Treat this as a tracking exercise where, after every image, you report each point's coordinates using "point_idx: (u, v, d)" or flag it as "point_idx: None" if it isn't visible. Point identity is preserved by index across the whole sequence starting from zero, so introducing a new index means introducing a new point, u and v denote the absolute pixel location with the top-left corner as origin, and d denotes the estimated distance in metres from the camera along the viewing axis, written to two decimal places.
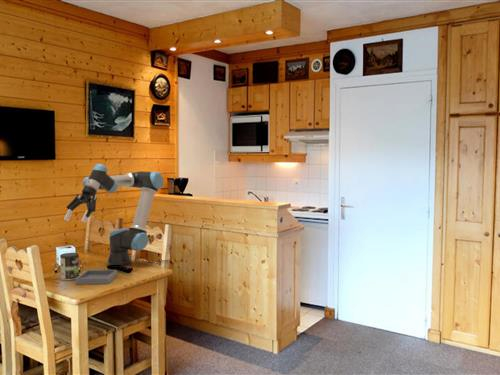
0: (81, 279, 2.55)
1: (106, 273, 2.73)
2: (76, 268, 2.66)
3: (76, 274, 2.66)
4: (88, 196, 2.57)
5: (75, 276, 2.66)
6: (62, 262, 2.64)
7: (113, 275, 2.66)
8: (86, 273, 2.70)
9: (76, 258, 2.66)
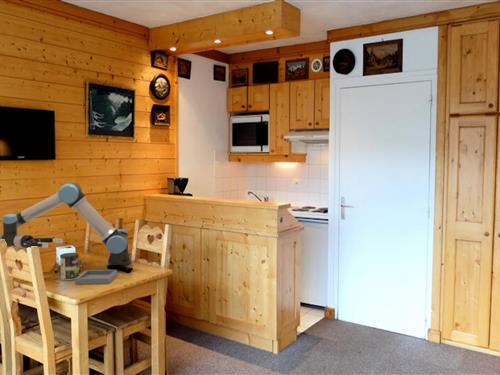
0: (81, 279, 2.55)
1: (106, 273, 2.73)
2: (76, 268, 2.66)
3: (76, 274, 2.66)
4: None
5: (75, 276, 2.66)
6: (62, 262, 2.64)
7: (113, 275, 2.66)
8: (86, 273, 2.70)
9: (76, 258, 2.66)
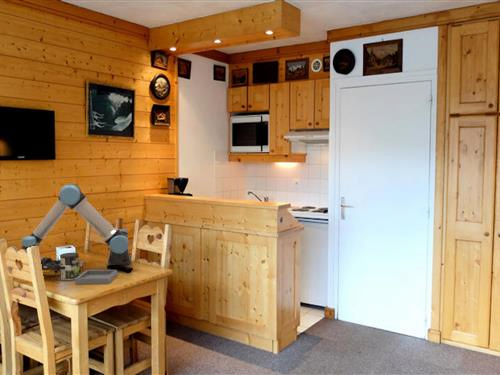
0: (81, 279, 2.55)
1: (106, 273, 2.73)
2: (76, 268, 2.66)
3: (76, 274, 2.66)
4: None
5: (75, 276, 2.66)
6: (62, 262, 2.64)
7: (113, 275, 2.66)
8: (86, 273, 2.70)
9: (76, 258, 2.66)
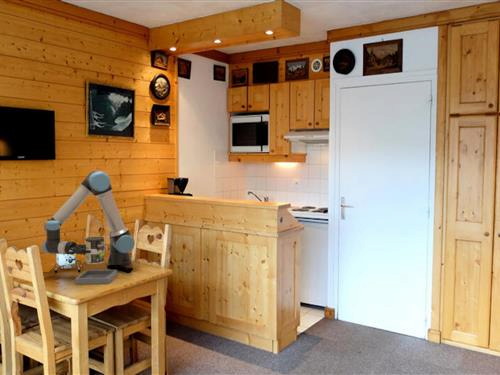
0: (81, 279, 2.55)
1: (106, 273, 2.73)
2: (101, 252, 2.62)
3: (101, 258, 2.62)
4: None
5: (101, 260, 2.61)
6: (87, 246, 2.59)
7: (113, 275, 2.66)
8: (86, 273, 2.70)
9: (101, 242, 2.62)
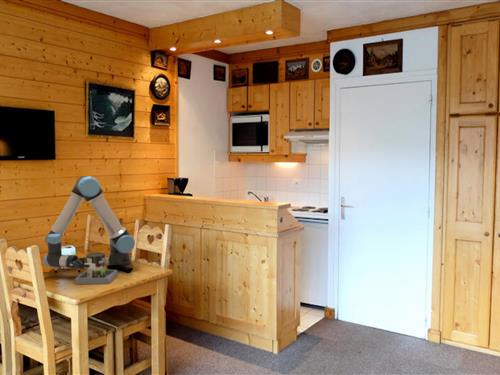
0: (81, 279, 2.55)
1: (106, 273, 2.73)
2: (102, 268, 2.62)
3: (103, 274, 2.62)
4: None
5: (102, 276, 2.62)
6: (88, 262, 2.59)
7: (113, 275, 2.66)
8: (86, 273, 2.70)
9: (102, 258, 2.62)
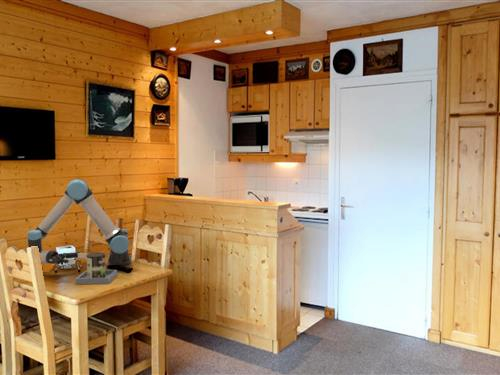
0: (81, 279, 2.55)
1: (106, 273, 2.73)
2: (103, 268, 2.62)
3: (103, 274, 2.62)
4: None
5: (102, 276, 2.62)
6: (89, 262, 2.59)
7: (113, 275, 2.66)
8: (86, 273, 2.70)
9: (103, 258, 2.62)
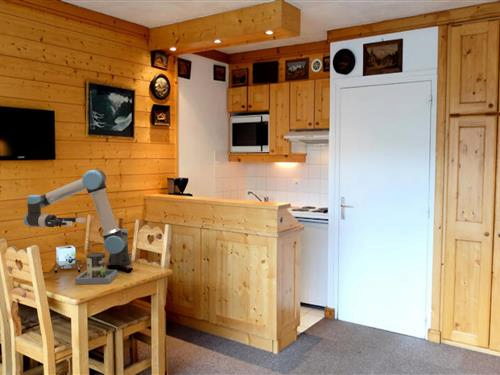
0: (81, 279, 2.55)
1: (106, 273, 2.73)
2: (102, 268, 2.62)
3: (102, 274, 2.62)
4: None
5: (102, 276, 2.62)
6: (88, 262, 2.59)
7: (113, 275, 2.66)
8: (86, 273, 2.70)
9: (102, 258, 2.62)
